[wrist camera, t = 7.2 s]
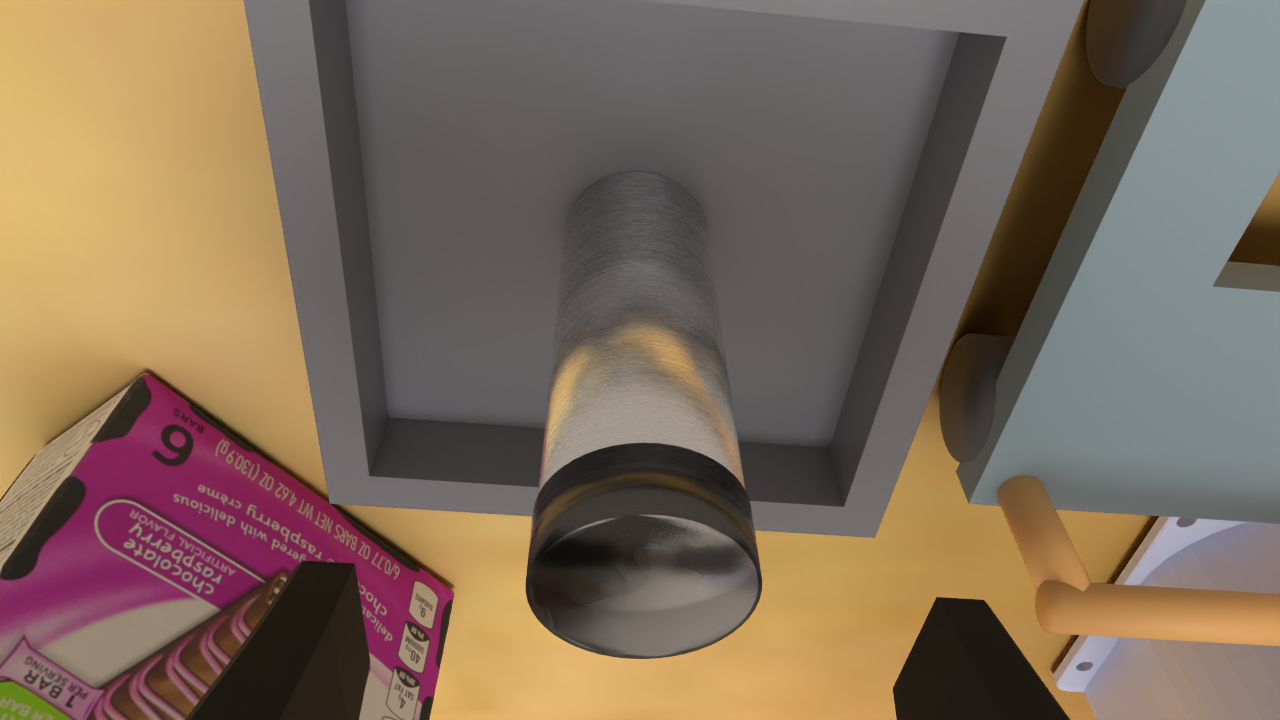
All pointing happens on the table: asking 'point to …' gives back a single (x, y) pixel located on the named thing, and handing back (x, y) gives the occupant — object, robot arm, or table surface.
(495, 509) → the tray
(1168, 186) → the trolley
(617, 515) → the pin
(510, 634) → the table surface
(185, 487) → the candy bar box
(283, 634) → the robot arm
